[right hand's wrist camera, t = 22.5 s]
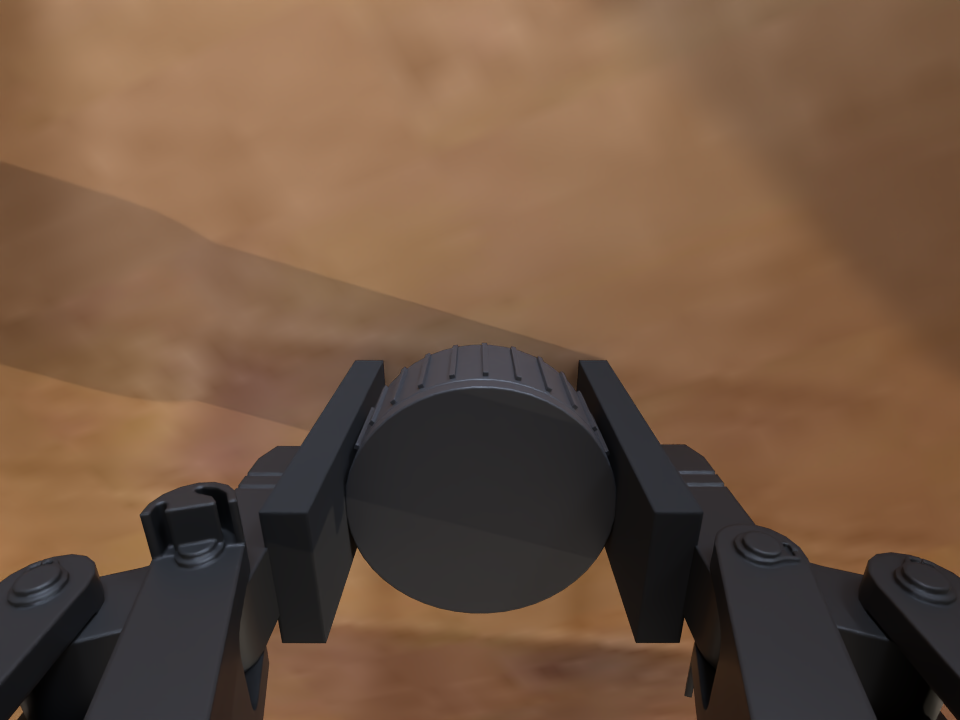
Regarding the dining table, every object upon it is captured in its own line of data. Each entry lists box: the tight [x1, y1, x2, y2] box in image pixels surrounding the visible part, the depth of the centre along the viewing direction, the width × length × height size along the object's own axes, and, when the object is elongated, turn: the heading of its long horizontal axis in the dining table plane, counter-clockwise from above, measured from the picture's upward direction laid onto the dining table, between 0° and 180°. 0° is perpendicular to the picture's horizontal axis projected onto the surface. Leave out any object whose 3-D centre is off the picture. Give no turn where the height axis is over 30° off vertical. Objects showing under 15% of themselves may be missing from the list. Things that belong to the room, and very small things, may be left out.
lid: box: [345, 343, 616, 613], centre depth 11 cm, size 6×6×2 cm
